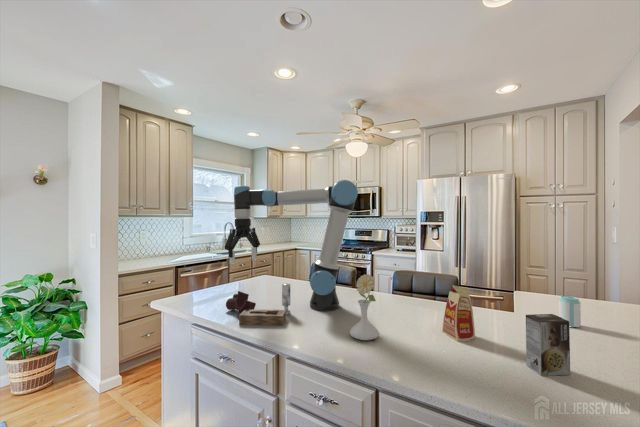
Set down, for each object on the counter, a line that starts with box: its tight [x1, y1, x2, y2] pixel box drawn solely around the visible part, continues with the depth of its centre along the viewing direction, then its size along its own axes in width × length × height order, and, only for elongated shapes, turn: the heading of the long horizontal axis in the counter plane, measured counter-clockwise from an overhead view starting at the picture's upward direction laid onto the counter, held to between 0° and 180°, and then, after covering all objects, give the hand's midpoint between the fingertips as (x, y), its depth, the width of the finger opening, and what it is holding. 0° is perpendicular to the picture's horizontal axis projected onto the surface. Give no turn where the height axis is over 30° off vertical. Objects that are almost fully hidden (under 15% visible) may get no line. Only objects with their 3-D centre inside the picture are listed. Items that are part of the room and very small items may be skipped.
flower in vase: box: [349, 273, 380, 341], centre depth 113 cm, size 13×11×25 cm
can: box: [558, 295, 582, 328], centre depth 125 cm, size 7×7×12 cm
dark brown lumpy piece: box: [225, 290, 257, 314], centre depth 141 cm, size 6×17×10 cm, turn 54°
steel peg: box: [281, 282, 291, 316], centre depth 140 cm, size 4×4×14 cm
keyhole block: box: [238, 308, 287, 326], centre depth 130 cm, size 19×8×4 cm, turn 87°
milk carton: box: [441, 284, 476, 342], centre depth 115 cm, size 9×9×20 cm
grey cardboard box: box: [525, 313, 571, 377], centre depth 89 cm, size 9×6×16 cm
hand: (243, 262), depth 140 cm, fingers open, 13 cm apart
